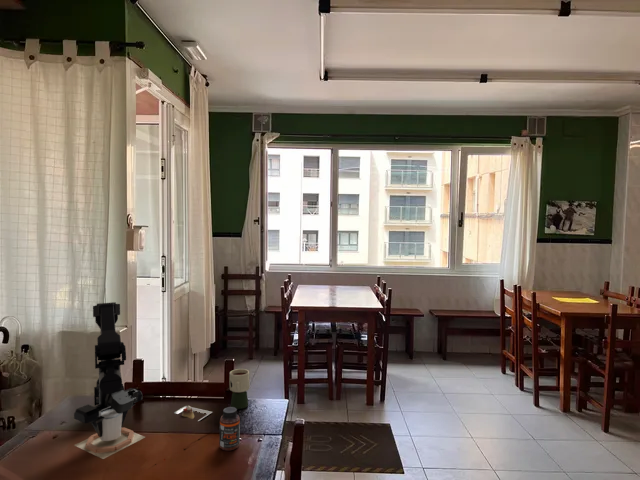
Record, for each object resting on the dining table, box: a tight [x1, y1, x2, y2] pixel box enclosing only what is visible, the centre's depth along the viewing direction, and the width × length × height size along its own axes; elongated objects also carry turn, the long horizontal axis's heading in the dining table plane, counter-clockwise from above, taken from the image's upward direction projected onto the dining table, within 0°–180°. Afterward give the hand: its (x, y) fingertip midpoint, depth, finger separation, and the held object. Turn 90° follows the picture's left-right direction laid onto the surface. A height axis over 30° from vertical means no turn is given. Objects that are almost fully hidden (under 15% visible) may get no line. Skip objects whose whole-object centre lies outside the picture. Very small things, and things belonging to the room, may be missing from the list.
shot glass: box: [100, 409, 123, 441], centre depth 129 cm, size 7×7×7 cm
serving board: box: [73, 432, 146, 460], centre depth 129 cm, size 14×14×1 cm
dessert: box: [173, 405, 213, 422], centre depth 148 cm, size 12×12×5 cm
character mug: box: [228, 368, 250, 410], centre depth 156 cm, size 11×7×13 cm, turn 4°
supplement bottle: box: [218, 406, 241, 452], centre depth 129 cm, size 6×6×11 cm
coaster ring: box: [86, 426, 135, 453], centre depth 129 cm, size 12×12×1 cm
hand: (110, 432), depth 129 cm, fingers open, 6 cm apart
